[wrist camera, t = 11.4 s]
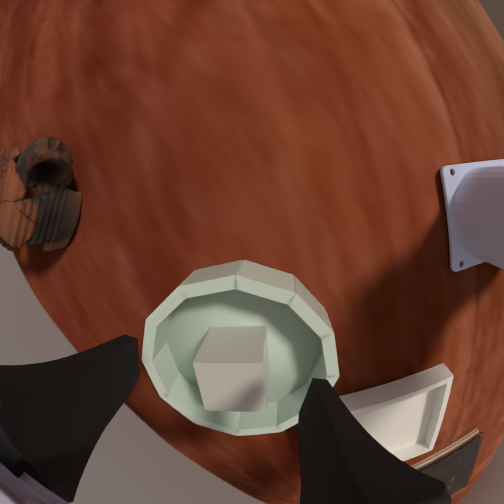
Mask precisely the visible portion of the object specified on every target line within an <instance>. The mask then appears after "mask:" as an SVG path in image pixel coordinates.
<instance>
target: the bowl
mask: <svg viewBox="0 0 504 504" xmlns="http://www.w3.org/2000/svg"><path fill="white" fill-rule="evenodd" d="M264 325H266V327H267V339H268V351H269V364H270V378H269V392H268V405H267V412H232V411H211V410H205V408H204V404H203V400H202V397H201V393H200V389H199V385H198V381H197V377H196V373H195V369H194V365H193V361H194V359H195V357H196V355H197V353H198V351H199V349H200V347H201V345H202V343H203V341H204V339H205V337H206V335H207V333H208V331H209V329H210V327H237V326H264ZM142 362H143V364H144V366H145V368H146V370H147V372H148V374H149V376H150V378H151V380H152V382H153V384H154V386H155V388H156V390H157V392H158V393H159V395H160V396H161V398H162V399H164V400H165V401H166V402H167V403H169V404H170V405H171V406H172V407H174V408H175V409H176V410H177V411H179V412H180V413H181V414H183V415H184V416H185V417H187V418H188V419H189V420H191V421H192V422H193V423H195V424H198V425H201V426H204V427H208V428H211V429H214V430H218V431H221V432H225V433H229V434H232V435H236V436H237V435H238V436H241V435H256V434H267V433H276V432H282V431H284V430H286V429H288V428H290V427H291V426H293V425H295V424H297V423H298V418H299V411H300V408H301V406H302V403H303V401H304V398H305V396H306V393H307V391H308V388H309V386H310V383H311V381H312V378H319V379H327V380H328V381H329V383H330V384H331V386H332V387H333V386H334V385H335V383H336V381H337V379H338V378H339V369H338V360H337V352H336V344H335V336H334V332H333V329H332V326H331V323H330V320H329V318H328V315H327V312H326V310H325V308H324V307H323V306H322V305H321V304H320V303H319V302H318V301H317V299H316V298H315V297H314V296H313V295H312V294H311V293H310V292H309V291H308V290H307V289H306V288H305V287H304V286H303V284H302V283H301V282H300V281H299V280H298V279H297V278H296V277H295V276H294V275H293V274H290V273H286V272H283V271H280V270H276V269H273V268H270V267H266V266H263V265H260V264H257V263H253V262H250V261H247V260H244V261H243V260H239V261H234V262H230V263H225V264H221V265H216V266H211V267H207V268H202V269H198V270H195V271H194V272H193V273H192V274H191V275H190V276H189V277H188V278H187V279H186V280H185V281H183V282H182V283H181V284H180V285H179V286H178V287H177V288H176V289H175V290H174V291H173V292H172V293H171V294H170V295H169V296H168V297H167V298H166V299H165V300H164V302H163V303H162V304H161V305H160V306H159V307H158V308H157V309H156V310H155V311H154V312H153V313H152V314H151V315H150V316H149V317H148V318H147V319H146V323H145V332H144V341H143V351H142Z"/></svg>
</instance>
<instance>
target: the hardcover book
mask: <svg viewBox="0 0 504 504" xmlns="http://www.w3.org/2000/svg"><path fill="white" fill-rule="evenodd" d="M482 437H483V432H482V433H479V430H478V429H477V428H476V429H475V430H473V431H472V432H470V433H469V434H467V435H466V436H464V437H462V438H461V439H459V440H458V441H456V442H454V443H453V444H451V445H449V446H448V447H446V448H444V449H443V450H441V451H439V452H437V453H435V454H434V455H432V456H430V457H428V458H426V459H424V460H422V461H420V462H418V463H416V464H414V465H412V466H411V467H413V468H415V469H417V470H418V471H420V472H422V473H424V474H426V475H429V476H431V477H433V478H436V479H438V480H441V481H443V482H445V484H446V487H447V489H448V492H449V494H450V495H452V494H453V493H455V492H457V491H459V490H460V489H462V488H464V487H465V486H467V484H468V481H469V478H470V476H471V473H472V470H473V467H474V464H475V461H476V458H477V455H478V452H479V448H480V445H481V441H482Z"/></svg>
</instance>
